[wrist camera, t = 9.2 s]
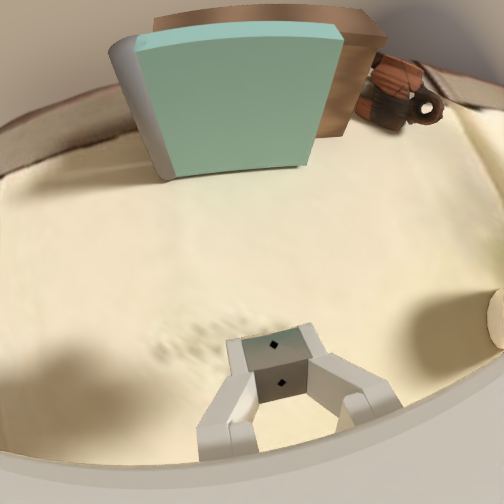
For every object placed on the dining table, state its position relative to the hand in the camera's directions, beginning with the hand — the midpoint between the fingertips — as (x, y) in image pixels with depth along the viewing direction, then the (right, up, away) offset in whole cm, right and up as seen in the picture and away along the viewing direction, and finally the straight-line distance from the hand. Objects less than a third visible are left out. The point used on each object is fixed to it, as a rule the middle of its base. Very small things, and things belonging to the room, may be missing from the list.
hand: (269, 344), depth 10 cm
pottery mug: (+16, +20, +21) cm, 33 cm away
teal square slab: (-3, +11, +17) cm, 20 cm away
